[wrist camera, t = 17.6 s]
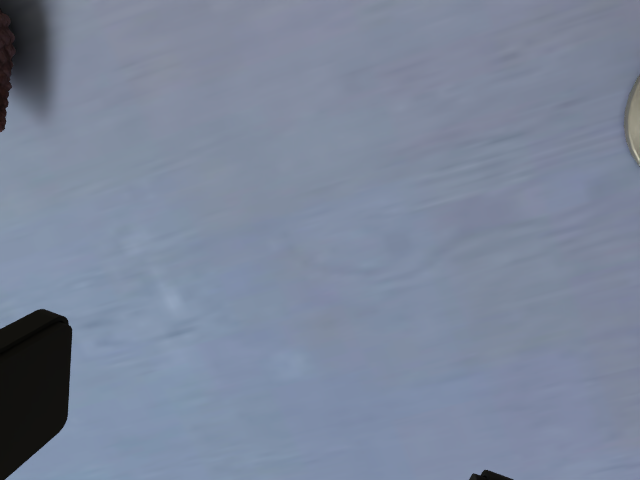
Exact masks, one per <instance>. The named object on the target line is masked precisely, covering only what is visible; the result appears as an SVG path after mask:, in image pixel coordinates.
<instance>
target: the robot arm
mask: <svg viewBox="0 0 640 480" xmlns="http://www.w3.org/2000/svg"><path fill="white" fill-rule="evenodd" d="M624 130H625V137H626V142H627V145H628V147H629V150H630V152H631V155H632V156H633V158H634V159H635V161H636V162H637V164H638V165H639V166H640V75H639V77H638V78H637V80H636V82H635V84H634V86H633V88H632V90H631V92H630V94H629V98H628V101H627V105H626V108H625V117H624ZM71 344H72V328H71V326H69V324H68V320H67V318H65V317H64V316H61V315H58V314H56V313H53V312H50V311H47V310H45V309H40V310H37V311H34V312H33V313H31V314H29V315H27V316H25V317H23V318H21V319H19V320H17V321H15V322H13V323H11V324H9V325H7V326H5V327H4V328H2V329H0V480H5V479H6V478H7V477H8V476H9V475H11V474H12V473H13V472H14V471H15V470H16V469H18V468H19V467H20V466H21V465H22V464H23V463H24V462H26V461H27V460H28V459H29V458H30V457H31V456H32V455H34V454H35V453H36V452H37V451H38V450H39V449H40V448H42V447H43V446H44V445H45V444H46V443H47V442H49V441H50V440H51V439H52V438H53V437H54V436H55V435H57V434H58V433H59V432H60V431H61V429H62V428H63V427H64V425H65V423H66V420H67V417H68V400H69V381H70V363H71ZM469 480H513V479H511V478H508V477H505V476H502V475H500V474H497V473H494V472H491V471H488V470H484V471H483V472H482V474H481V476H480V475H477V474H472V475H471V477H470V479H469Z"/></svg>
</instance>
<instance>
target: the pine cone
mask: <svg viewBox="0 0 640 480" xmlns="http://www.w3.org/2000/svg"><path fill="white" fill-rule="evenodd" d="M10 22H11V19H10V18H9V16H8V15H6V14H4V13H2V12H1V9H0V132H2V131H3V130H4V129H5V124H6V118H5V117H6V113H7V112H6V109H5V108H7V107H8V103H9V102H8V100H7V98H8V96H9V92H8V91H9V90H10V89H11V88H12V86H11V83H10V82H9V81H10V76H11V69H12V67H13V66H14V65H13V63H12V60H11V59H12V57H13V55H15V53H16V50H15V48H14V46H13V44H12V43H13V42H14V40H15V35H14V34H13V33H12V32H11V31H10V30H9V27H8V26H9V25H10Z"/></svg>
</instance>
